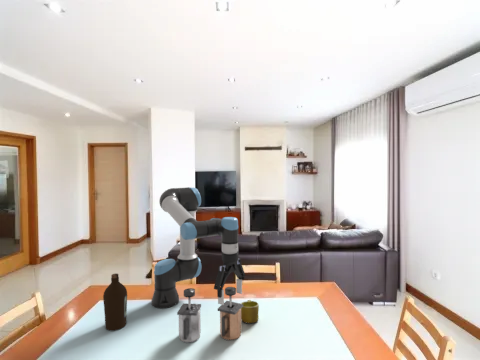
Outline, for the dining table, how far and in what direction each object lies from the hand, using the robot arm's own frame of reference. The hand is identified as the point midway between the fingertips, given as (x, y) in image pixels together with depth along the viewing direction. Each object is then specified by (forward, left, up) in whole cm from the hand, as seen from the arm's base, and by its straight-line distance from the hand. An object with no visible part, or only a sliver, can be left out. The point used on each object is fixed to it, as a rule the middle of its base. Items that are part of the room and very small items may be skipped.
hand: (230, 298), depth 131 cm
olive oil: (-50, -26, -17) cm, 59 cm away
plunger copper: (0, 0, -14) cm, 14 cm away
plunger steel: (-14, -12, -14) cm, 23 cm away
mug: (-1, +17, -17) cm, 24 cm away
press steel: (-13, -13, -17) cm, 25 cm away
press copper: (0, -1, -17) cm, 17 cm away
